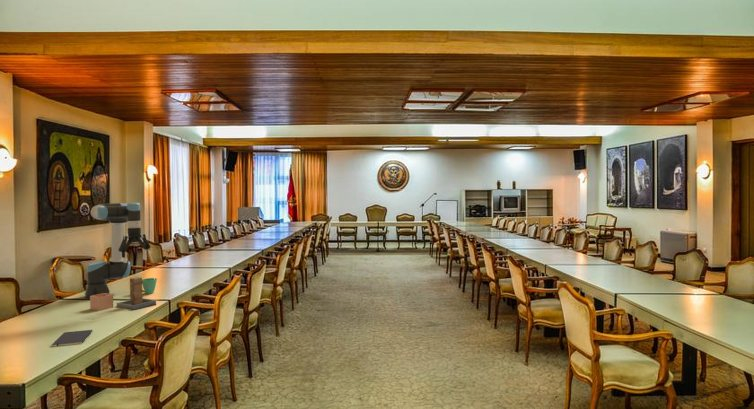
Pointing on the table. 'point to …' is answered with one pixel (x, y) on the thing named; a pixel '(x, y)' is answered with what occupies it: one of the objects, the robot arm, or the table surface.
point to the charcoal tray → (139, 306)
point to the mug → (149, 285)
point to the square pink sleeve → (101, 301)
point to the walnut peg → (136, 291)
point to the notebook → (72, 337)
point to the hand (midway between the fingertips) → (135, 261)
